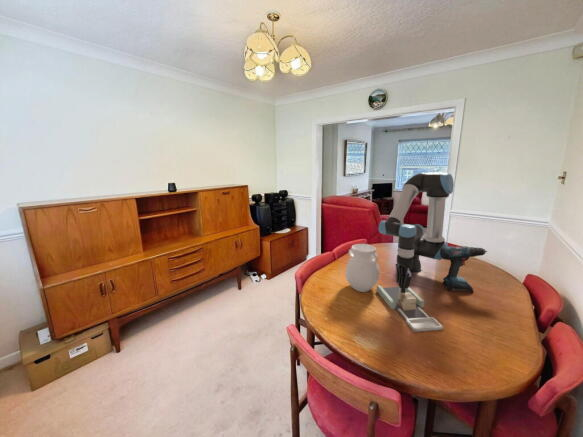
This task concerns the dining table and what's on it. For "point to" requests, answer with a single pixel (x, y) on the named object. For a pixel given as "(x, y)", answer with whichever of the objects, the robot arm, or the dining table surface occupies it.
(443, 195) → the robot arm
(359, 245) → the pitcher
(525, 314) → the dining table surface
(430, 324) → the tray
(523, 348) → the dining table surface
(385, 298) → the channel
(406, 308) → the block
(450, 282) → the power drill
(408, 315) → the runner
